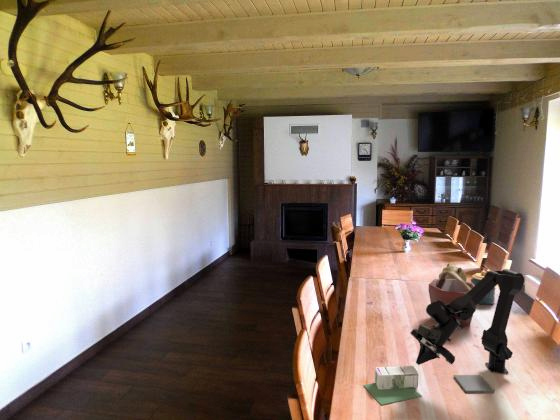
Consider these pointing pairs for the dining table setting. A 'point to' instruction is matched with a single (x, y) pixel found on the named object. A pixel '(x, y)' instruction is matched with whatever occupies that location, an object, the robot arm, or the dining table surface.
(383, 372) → the syrup box
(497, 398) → the dining table surface
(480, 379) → the slate coaster
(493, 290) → the canister
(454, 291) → the bucket
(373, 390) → the felt mat
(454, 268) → the frog figurine
